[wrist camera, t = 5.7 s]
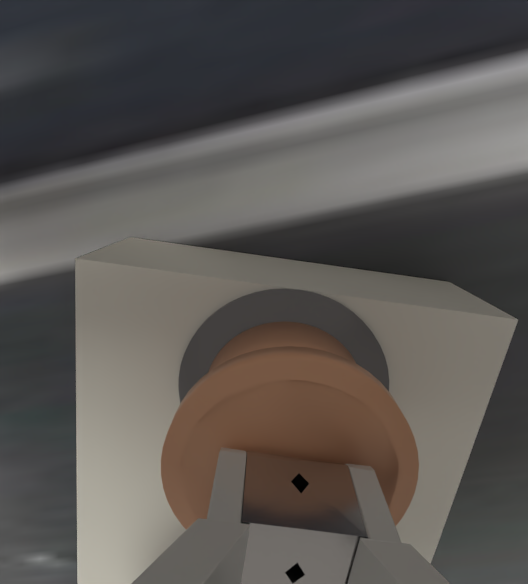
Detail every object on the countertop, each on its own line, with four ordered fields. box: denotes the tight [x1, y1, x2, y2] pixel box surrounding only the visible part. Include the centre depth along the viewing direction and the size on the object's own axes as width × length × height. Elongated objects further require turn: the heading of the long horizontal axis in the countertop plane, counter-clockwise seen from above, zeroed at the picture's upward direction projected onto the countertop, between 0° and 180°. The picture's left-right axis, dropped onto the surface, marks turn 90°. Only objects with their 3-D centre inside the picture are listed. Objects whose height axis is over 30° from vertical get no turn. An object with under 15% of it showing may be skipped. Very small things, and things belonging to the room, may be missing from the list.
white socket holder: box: [75, 237, 518, 584], centre depth 15 cm, size 22×12×4 cm, turn 172°
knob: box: [161, 321, 419, 530], centre depth 9 cm, size 5×5×3 cm
